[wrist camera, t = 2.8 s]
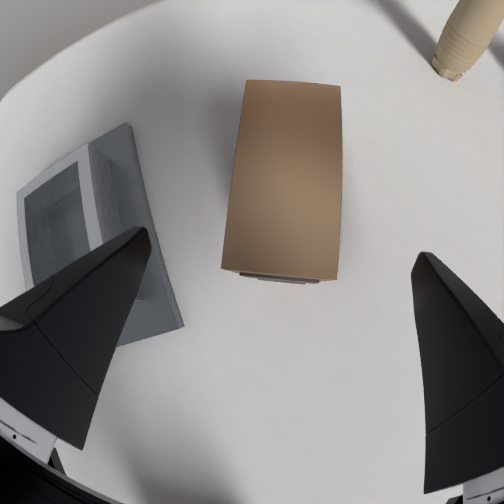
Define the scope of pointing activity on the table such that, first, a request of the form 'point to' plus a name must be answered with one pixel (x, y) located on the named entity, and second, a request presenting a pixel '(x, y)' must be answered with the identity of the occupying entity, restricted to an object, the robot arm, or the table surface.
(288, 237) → the tan tall block
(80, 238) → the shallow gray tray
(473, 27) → the handle
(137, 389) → the table surface
